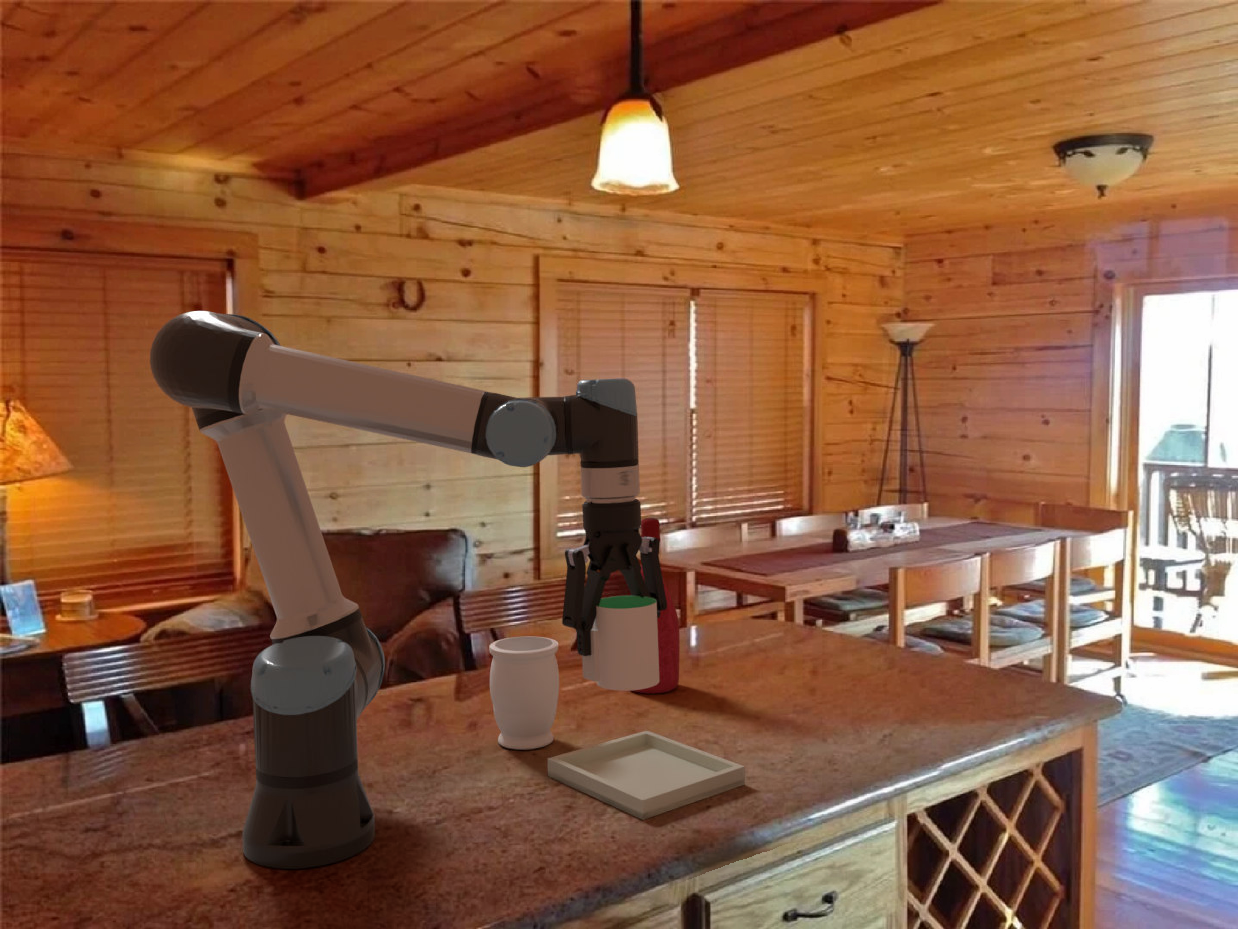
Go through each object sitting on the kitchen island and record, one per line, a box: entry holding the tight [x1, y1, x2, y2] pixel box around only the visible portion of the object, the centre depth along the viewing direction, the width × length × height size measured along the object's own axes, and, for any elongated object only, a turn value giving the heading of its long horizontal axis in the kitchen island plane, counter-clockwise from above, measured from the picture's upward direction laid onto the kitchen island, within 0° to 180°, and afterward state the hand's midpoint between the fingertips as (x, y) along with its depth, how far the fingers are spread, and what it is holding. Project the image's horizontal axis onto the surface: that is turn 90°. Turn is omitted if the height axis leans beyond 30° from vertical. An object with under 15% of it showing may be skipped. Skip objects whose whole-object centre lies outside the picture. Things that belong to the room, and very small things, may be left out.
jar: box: [488, 635, 560, 751], centre depth 167 cm, size 11×10×15 cm
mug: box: [592, 595, 659, 692], centre depth 144 cm, size 12×8×10 cm
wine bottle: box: [630, 517, 681, 695], centre depth 194 cm, size 10×10×30 cm
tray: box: [547, 730, 746, 821], centre depth 151 cm, size 18×20×2 cm
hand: (618, 672), depth 145 cm, fingers closed on mug, 8 cm apart
